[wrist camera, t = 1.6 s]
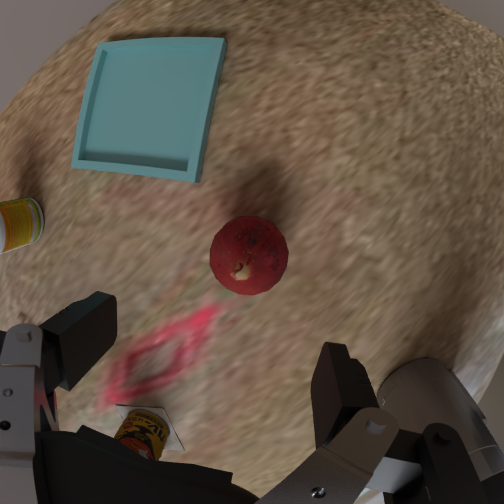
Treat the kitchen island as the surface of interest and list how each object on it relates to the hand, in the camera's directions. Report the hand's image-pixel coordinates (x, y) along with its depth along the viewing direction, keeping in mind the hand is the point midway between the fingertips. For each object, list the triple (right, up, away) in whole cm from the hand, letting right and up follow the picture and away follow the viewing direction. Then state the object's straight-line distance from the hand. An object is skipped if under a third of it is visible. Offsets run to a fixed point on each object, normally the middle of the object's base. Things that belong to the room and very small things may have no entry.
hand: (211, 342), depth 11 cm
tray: (-8, +17, +13) cm, 23 cm away
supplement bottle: (-24, +7, +17) cm, 31 cm away
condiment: (-12, -20, +23) cm, 33 cm away
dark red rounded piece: (+2, +4, +16) cm, 16 cm away
